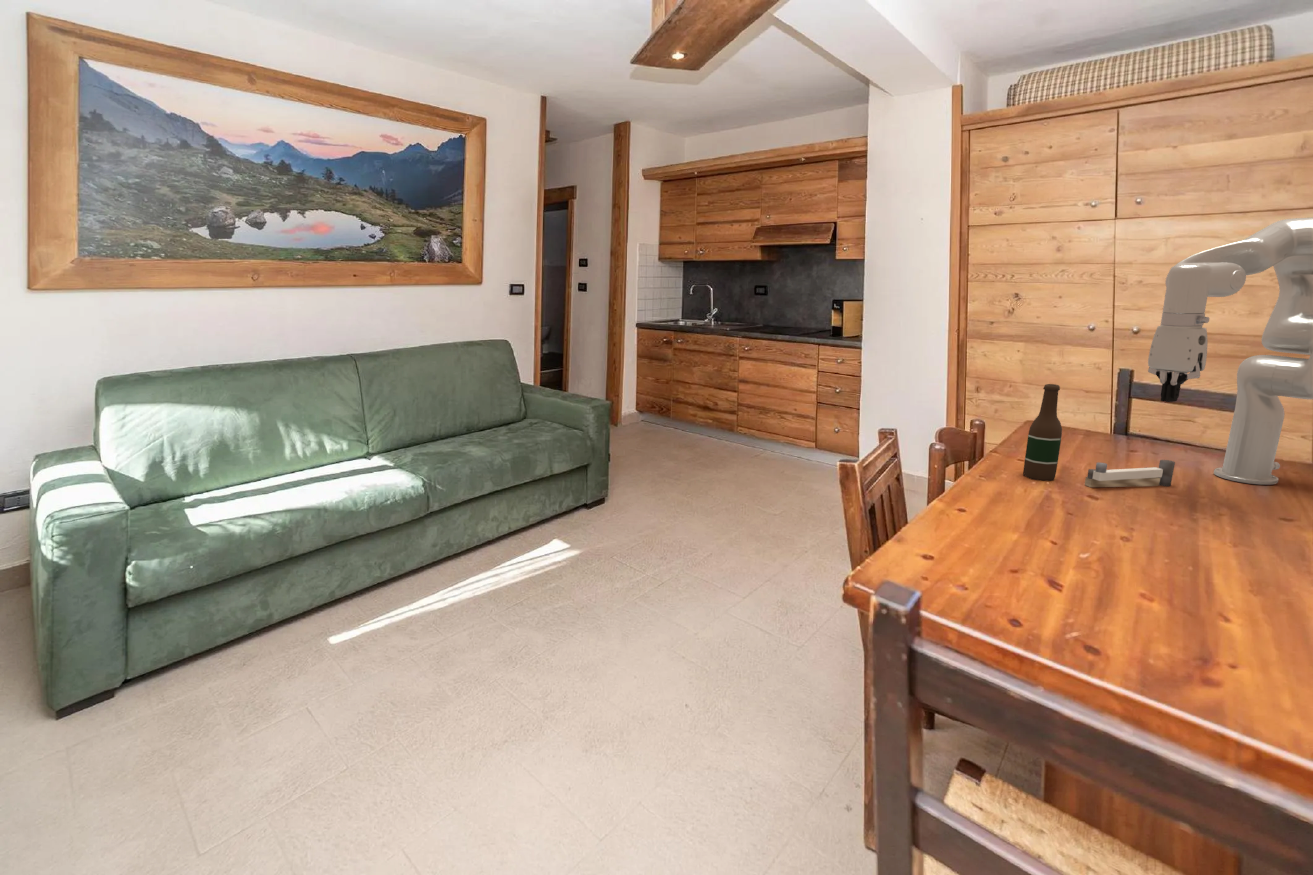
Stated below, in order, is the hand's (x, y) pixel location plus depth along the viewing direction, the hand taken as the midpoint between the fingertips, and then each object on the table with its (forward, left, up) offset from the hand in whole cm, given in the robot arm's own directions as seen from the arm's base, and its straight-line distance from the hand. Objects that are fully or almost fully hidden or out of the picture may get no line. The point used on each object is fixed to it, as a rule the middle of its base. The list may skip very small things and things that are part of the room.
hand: (1168, 401), depth 155 cm
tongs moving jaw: (+1, -6, -20) cm, 21 cm away
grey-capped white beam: (-1, -6, -22) cm, 23 cm away
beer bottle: (+14, -19, -23) cm, 33 cm away
